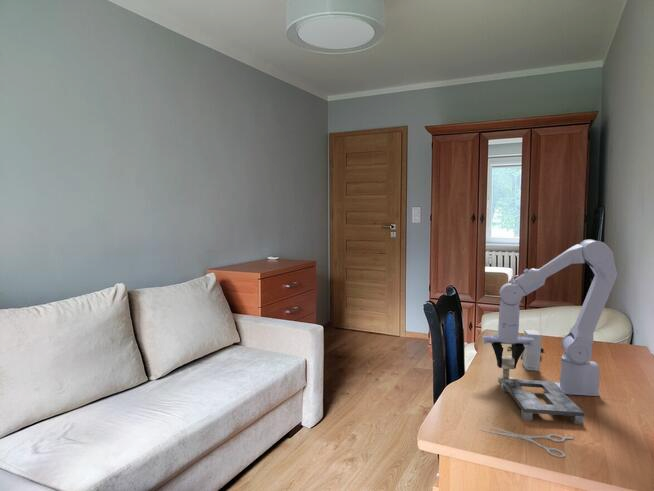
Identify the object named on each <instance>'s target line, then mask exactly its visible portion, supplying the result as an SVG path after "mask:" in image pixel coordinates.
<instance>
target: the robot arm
mask: <svg viewBox="0 0 654 491" xmlns="http://www.w3.org/2000/svg"><path fill="white" fill-rule="evenodd" d="M614 254H615V253H614V252H613V251H612V249H611V248H610V247H609V246H608V244H606V243H605V242H603V241H600V240H595V239H590V238H589V239H584V240H582V241H581V242H579V243H578V244H574V245H573V246H571V247H569V248H567V249H566V250H565V251H563V252H562V253H560V254H559V255H557V256H556V257H554V258H552V259H551V260H550V261H548V262H547V263H546V264H544V265H543V266H542V267H541V266H540V268H530V269H528V268H525V269H524V270H523V273H522V274H520V275H518V276H517V277H516V278H514V279H513V278H511V279H510V280H509V282H506V283H504V284H502V286H501V287H500V289H499V291H498V293H499V298H500V301H499V308H498V309H499V310H498V329H497V330H498V331H497V335H496V334H493V335H492V334H491V335H482V343H483V344H491V347H492V350H493V351H494V355H495V358H496V364H497V365H496V366H497V367H498V368H499V369H502V368H501V367H502V355H503V352H504V347H503V344H504V345H511V346H510V347H512V350H511V356H512V357H513V358H514V359H515V363H514V369H513V370H515V369H517V365H518V361H519V359H521V357H522V353H523V351H524V349H525V347H524V345H530V346H534V339H532V338H527V337H524V336H519V333H520V328H519V327H520V314H521V313H520V312H521V311H520V310H521V309H520V302H521V301H522V299H523V297H525V296H528V295H529V294H531V293H533V292H534V291H536V290H538V289H539V288H540V287H542V286H545V282H546V279H547V278H548V277H551V276H552V275H554V274H556V273H558V272H559V271H561V270H562V269H564V268H566V267H568V266H570V265H573V264H574V265H575V264H585V263H586V264H587V265H589V268H590V269H591V271H592V273H593V274H594V276H593V279H592V281H591V284H590V285H589V288H588V291H587V292H586V296H585V299H584V301H583V302H582V306H581V308H580V310H579V313H578V316H577V318H576V321H575V323H574V325H573V326H572V327H571V328H570V329H569V332H568V333H567V334H566V335H565V336H564V337H563V338H562V339H561V342H560V343H561V347H562V349H563V351H564V352H563V354H562V356H561V359H560V373H559V374H560V375H559V376H560V377H559V382H557V381H556V382H555V381H554V382H553V383H554V384H555V385H556V386H557V387H558V388H559V389H560V390H561V391H562V392H563V393H564V394H565V395H574V396H589V397H590V396H591V397H600V396H601V395H600V393H599V391H600V378H601V373H600V366H599V364H598V363H597V362H595V360H593V361H592V360H591V359H592V357H593V356H592V355H593V350H592V346H593V344H594V334H595V333H594V332H595V330H596V328H597V325H598V323H599V320H600V318H601V316H602V315H603V314H602V313H603V311H604V308H605V306H606V305H607V301H608V299H609V297H610V294H611V292H612V290H613V287H614V285H615V282H616V279H617V277H618V271H617V268H616V263H615V259H614V256H615V255H614Z"/></svg>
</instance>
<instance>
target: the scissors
mask: <svg viewBox="0 0 654 491" xmlns="http://www.w3.org/2000/svg"><path fill="white" fill-rule="evenodd" d="M481 424H482V425H484V426H487V427H489V428H492V429H495V430H497V432H496V431H490V430H481V429H480V431H481V432H485V433H490V434H496V435H501V436H505V437H512V438H515V439H516V438H517V439H521V440H524V441H527V442H529V443H532V444H533V445H536V447H537V446H538V447H539V448H542V449H544V450H545V451H546V452H547V453H548V454H549V455H551V456H553V457H556V458H566V454H565V452H564V451H562V450H560V449H558V448H555V447H548V446H547V447H546V446H544V445H542V444H540V443H538V442H537V441H535V440H536V439H545V440H550V441H551V442H554V443H564V442H565V441H566V440H574V437H573V436H563V435H560V434H555V433H549V434H547V435H534V436H533V435H528V434H517V433H514V432H511V431H509V430H506V429H502V428H499V427H496V426H492V425H490V424H485V423H481ZM499 431H501V432H499ZM552 437H556V438H559V439H555V438H552ZM534 439H535V440H534ZM551 451H554V452H557V453H560V454H561V455H557V454H554V453H553V452H551Z"/></svg>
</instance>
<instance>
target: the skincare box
mask: <svg viewBox="0 0 654 491" xmlns="http://www.w3.org/2000/svg"><path fill="white" fill-rule="evenodd" d="M523 337H527V338H532V339H534V346H530V345H524V347H525V349H524V351H523V359H521V361H522V363H521V364H522V366H523V367H524V369H525V370H527V371H537V372H539V371H541V370H540V367H541V361H540V360H541V355H540V354H542V353H541V348H542V337H543V336H542V334H541V333H540V332H539V331H537V330H532V329H524V330H523Z"/></svg>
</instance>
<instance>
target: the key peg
mask: <svg viewBox="0 0 654 491" xmlns="http://www.w3.org/2000/svg"><path fill="white" fill-rule="evenodd" d="M514 363H515V359H514V358H513V357H512V355H503V354H502V367H501V368H500V369H502V375H498V376H497V381H498V382H499V383H501V380H502V378H503V379H514V378H513V377H511V376H510V370H515V369H514Z"/></svg>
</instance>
